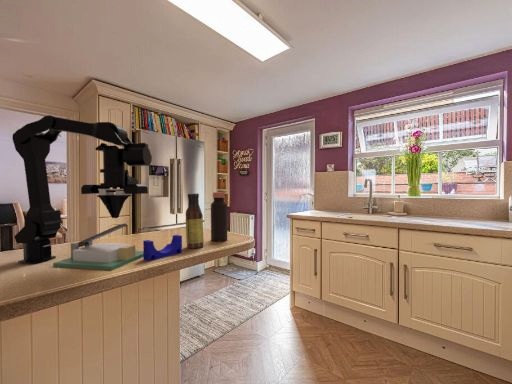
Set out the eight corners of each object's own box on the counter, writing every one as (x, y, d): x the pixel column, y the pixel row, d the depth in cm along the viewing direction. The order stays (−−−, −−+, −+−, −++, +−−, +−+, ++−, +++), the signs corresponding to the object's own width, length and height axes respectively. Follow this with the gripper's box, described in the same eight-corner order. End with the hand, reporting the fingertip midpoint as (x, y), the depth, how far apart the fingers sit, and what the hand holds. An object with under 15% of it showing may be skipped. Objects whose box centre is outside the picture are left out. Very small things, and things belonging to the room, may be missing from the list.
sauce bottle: (207, 246, 95) (206, 193, 95) (194, 249, 90) (194, 193, 90) (194, 244, 99) (194, 193, 98) (182, 247, 93) (181, 193, 93)
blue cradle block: (173, 251, 89) (173, 234, 88) (182, 253, 86) (181, 235, 86) (140, 259, 79) (140, 240, 79) (148, 261, 76) (148, 242, 76)
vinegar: (230, 239, 107) (230, 192, 107) (220, 242, 101) (220, 192, 101) (218, 237, 111) (217, 192, 110) (207, 240, 105) (207, 192, 105)
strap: (76, 248, 78) (75, 243, 78) (85, 245, 81) (83, 241, 81) (120, 229, 75) (119, 224, 75) (127, 227, 77) (126, 223, 78)
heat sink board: (53, 266, 72) (52, 247, 71) (98, 252, 87) (98, 236, 87) (111, 270, 68) (111, 249, 68) (148, 254, 84) (147, 238, 83)
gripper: (157, 167, 82) (158, 215, 83) (107, 168, 86) (108, 214, 86) (135, 164, 71) (136, 219, 72) (79, 166, 75) (80, 218, 75)
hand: (115, 217), depth 77 cm, fingers closed
